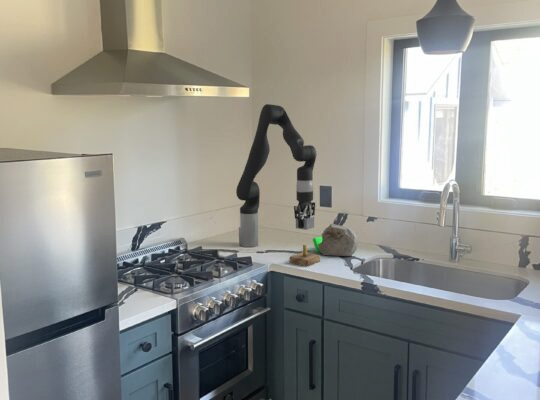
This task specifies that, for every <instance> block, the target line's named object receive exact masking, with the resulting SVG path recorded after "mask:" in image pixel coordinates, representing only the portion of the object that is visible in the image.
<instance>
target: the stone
mask: <svg viewBox="0 0 540 400" xmlns="http://www.w3.org/2000/svg"><path fill="white" fill-rule="evenodd" d="M321 237H322V242H321V243H320V244H318V247H319V250H320V252H319V253H321V254H322V255H324V256H339V257H350V256H352V255H354V254H355V253H356V251H357V249H358V245H359V239H358V238H357V235H356V233H355V231H354V230H353V229H351V228H350V227H347V226H344V225H340V224H335V223H330V225H329V226H328V227H326V228H324V230H323V232H322V234H321Z"/></svg>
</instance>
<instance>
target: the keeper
mask: <svg viewBox="0 0 540 400" xmlns="http://www.w3.org/2000/svg"><path fill="white" fill-rule="evenodd" d="M320 262H321V255H319V254H315V253H310V252H309V253H308V245H307V244H303V245H302V251H301V252H299V253H296V254H293V255H291V256H289V264H293V265H298V266H302V267H307V266H308V267H311V266H313V265H315V263H316V264H317V263H320ZM310 265H311V266H310Z"/></svg>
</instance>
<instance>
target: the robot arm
mask: <svg viewBox="0 0 540 400" xmlns="http://www.w3.org/2000/svg"><path fill="white" fill-rule="evenodd" d="M270 125H275V126H277V125H278V126H279V127H280V128H281V129H282V137H283V141H284V142H285V143H286V144H287V145H288V147H289V148H290V152H291V154H292V158H293V159H294V160H295V162H299V163H301V162H303V163H304V164H303V165H302V166H300V167H298V168H297V169H296V184H295V186H296V188H295V189H296V192H295V193H296V201H298V203H297V205H293V211H294V219H295V220H296V219H298V227H299V228H303V217H304V216H312V217H314V216H315V214H316V202H315V201H314V180H313V178H314V177H313V176H314V175H313V171H314V167H315V163H316V160H317V150H316V148H315V146H313V145H311V144H308V145H305V141H304V139H303V137H302V135H300V133H299V132H298V131H297V130H296V128H295V127H294V125H293V123H292V121H291V119H290V117H289V115H288V113H287V111H286V110H285V108H284V107H283V106H281V105H278V104H277V105H276V104H269V103H268V104H267V103H265V104H264V105H263V106H262V108H261V110H260V114H259V118H258V124H257V126H256V127H257V128H256V132H255V134H254V135H255V136H254V138H253V142H252V145H251V147H250V150H249V154H248V158H247V160H246V164H245V166H244V170H243V173H242V175H241V177H240V179H239V181H238V182H237V183H238V184H237V187H236V192H235V193H236V197H237V198H238V200H240V201H244V203H243V204H242V205H241V206H240V208H239V227H238V244H239V246H240V247H244V248H254V247H259V213H258V212H259V211H258V210H259V208H260V195H261V194H260V193H261V192H260V186H259V184H258V183H257V182H256V181H255V178H256V176H257V175H258V174H259V173H260V171H261V170H262V169H263V167H264V166H265V165H266V164H267V163H266V162H267V160H268V158H269V154H270V151H271V150H270V149H271V148H270V143H269V140H268V135H267V134H268V129H269V126H270ZM313 201H314V202H313Z"/></svg>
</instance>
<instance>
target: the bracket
mask: <svg viewBox="0 0 540 400" xmlns="http://www.w3.org/2000/svg"><path fill="white" fill-rule="evenodd" d="M312 242H313V246H314V248H315V250H316V251H317V252H319V253H321V252H320V250H319V247H318V244H320V243H321V242H322V236H317V237H314V238H312Z"/></svg>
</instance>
